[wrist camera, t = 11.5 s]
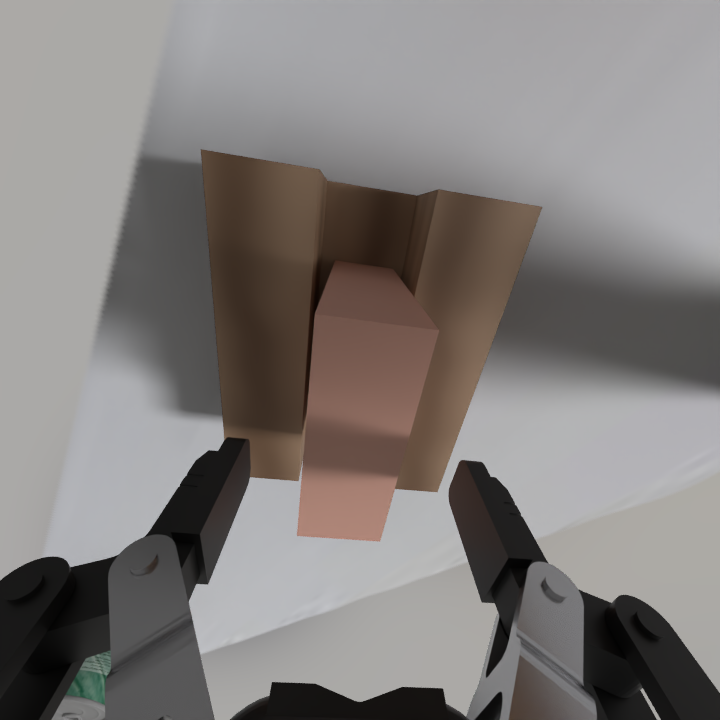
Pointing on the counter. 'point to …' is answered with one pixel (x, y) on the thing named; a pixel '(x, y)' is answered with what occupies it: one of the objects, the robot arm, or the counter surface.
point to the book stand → (308, 280)
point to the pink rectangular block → (361, 400)
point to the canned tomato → (87, 691)
